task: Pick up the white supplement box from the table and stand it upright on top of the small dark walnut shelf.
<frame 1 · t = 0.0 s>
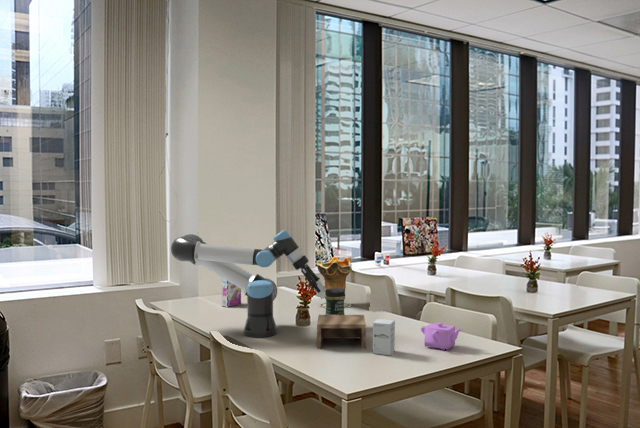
hand: (324, 294, 261), 15 cm above the table, tool tilted 35°, fingers open, 13 cm apart
teapot: (441, 348, 224), on the table
supplement box: (383, 352, 218), on the table
coffee jar: (335, 327, 261), on the table
walnut shelf: (341, 342, 233), on the table
candy bar box: (231, 305, 313), on the table
decorative vase: (335, 305, 311), on the table
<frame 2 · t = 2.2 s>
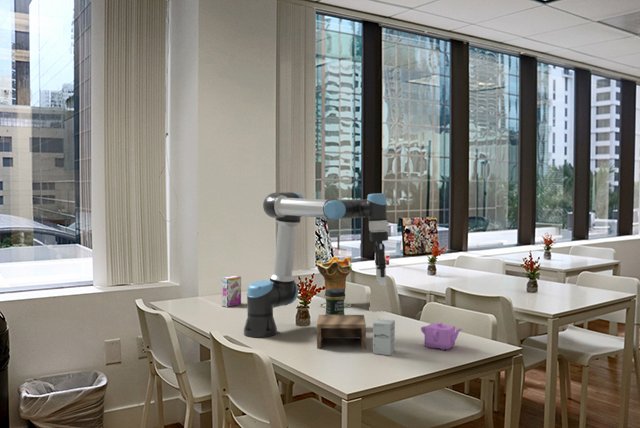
hand: (381, 283, 223), 27 cm above the table, tool pointing down, fingers open, 13 cm apart
nothing on the table moved.
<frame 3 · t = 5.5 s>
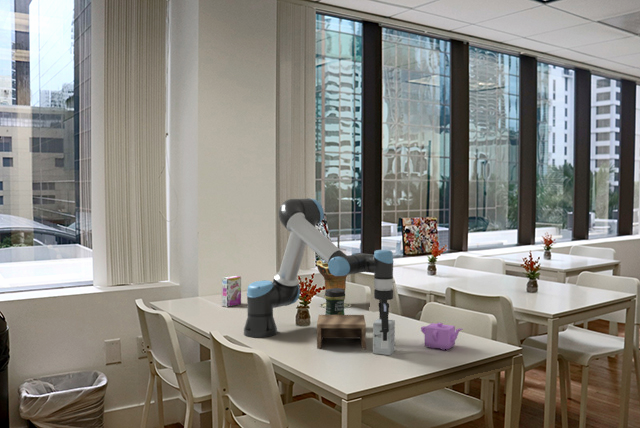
hand: (383, 345, 218), 3 cm above the table, tool pointing down, fingers closed on supplement box, 9 cm apart
supplement box: (383, 352, 218), on the table, touching gripper
everything else where it was.
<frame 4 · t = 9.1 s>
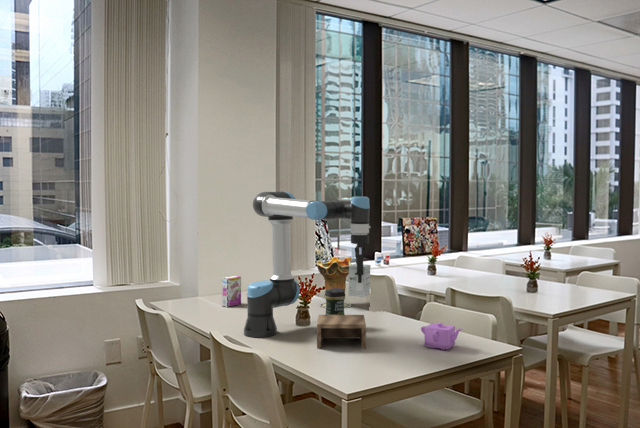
hand: (359, 288, 226), 24 cm above the table, tool pointing down, fingers closed on supplement box, 9 cm apart
supplement box: (359, 295, 226), point 21 cm above the table, touching gripper
everything else where it was.
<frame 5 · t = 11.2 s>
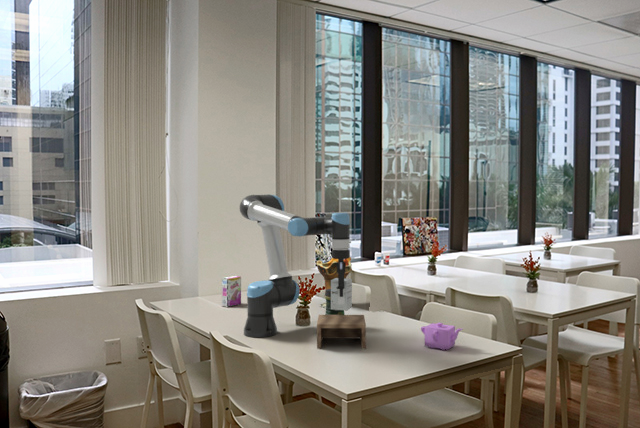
hand: (341, 301, 232), 17 cm above the table, tool pointing down, fingers closed on supplement box, 9 cm apart
supplement box: (341, 309, 232), point 14 cm above the table, touching gripper
everything else where it was.
when the fingers open (14 cm above the table, at t = 12.7 s): supplement box drops 1 cm, resting on walnut shelf.
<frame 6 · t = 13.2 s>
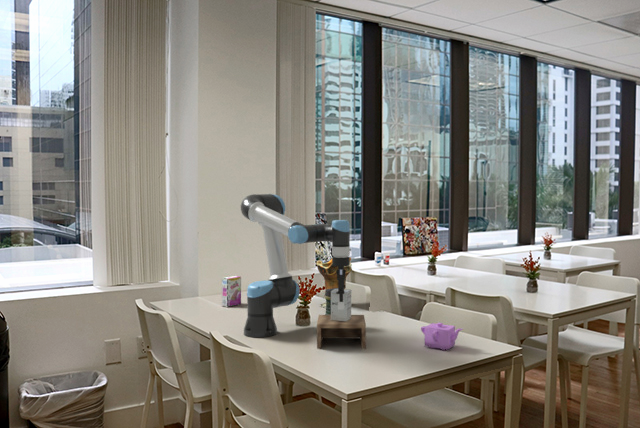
hand: (341, 306, 232), 16 cm above the table, tool pointing down, fingers open, 13 cm apart
supplement box: (341, 319, 232), point 10 cm above the table, touching walnut shelf
everything else where it was.
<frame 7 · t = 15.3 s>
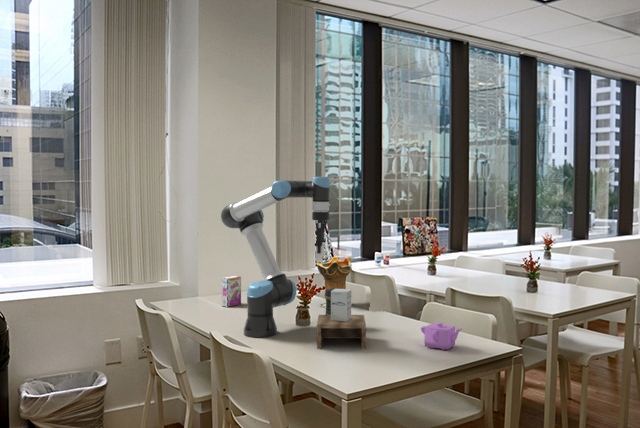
hand: (319, 258, 244), 35 cm above the table, tool pointing down, fingers open, 13 cm apart
nothing on the table moved.
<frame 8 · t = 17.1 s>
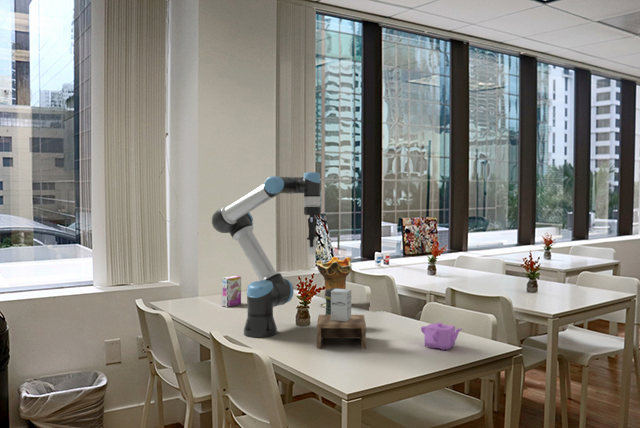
hand: (312, 252, 249), 37 cm above the table, tool pointing down, fingers open, 13 cm apart
nothing on the table moved.
at the end: supplement box inside the target area on the walnut shelf (0.2 cm from its centre), point 9.8 cm above the walnut shelf's base; supplement box tilted 0°; the gripper is holding nothing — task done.
